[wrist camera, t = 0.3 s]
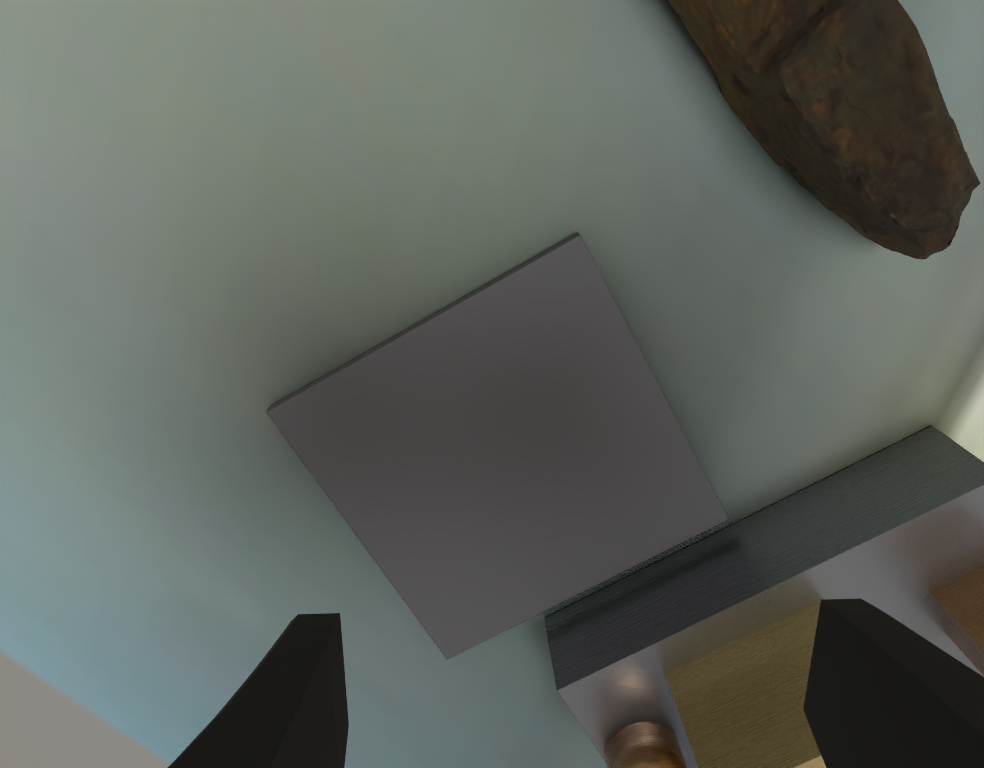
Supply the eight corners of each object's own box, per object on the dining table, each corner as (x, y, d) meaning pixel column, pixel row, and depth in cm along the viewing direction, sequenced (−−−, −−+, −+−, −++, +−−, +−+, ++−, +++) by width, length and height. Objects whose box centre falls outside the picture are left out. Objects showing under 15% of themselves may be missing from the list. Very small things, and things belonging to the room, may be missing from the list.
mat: (724, 511, 23) (729, 519, 22) (447, 650, 24) (446, 659, 23) (577, 231, 20) (580, 235, 19) (269, 406, 21) (266, 412, 20)
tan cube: (876, 707, 21) (966, 839, 18) (726, 775, 22) (782, 917, 18) (822, 598, 20) (907, 716, 16) (664, 674, 21) (711, 803, 17)
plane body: (995, 585, 24) (1162, 739, 18) (633, 753, 26) (685, 942, 20) (931, 425, 22) (1097, 543, 16) (544, 618, 24) (574, 785, 18)
